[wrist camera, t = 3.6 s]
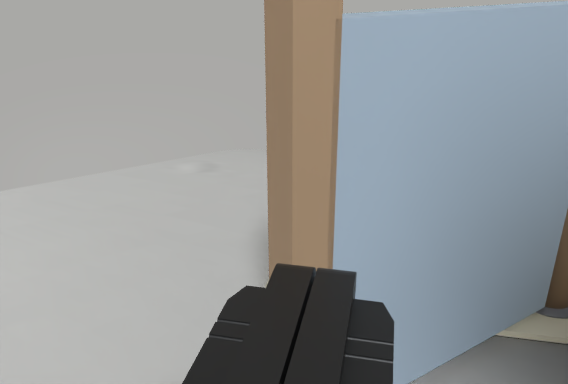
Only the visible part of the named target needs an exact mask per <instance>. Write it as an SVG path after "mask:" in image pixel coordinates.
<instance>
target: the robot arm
mask: <svg viewBox="0 0 568 384" xmlns="http://www.w3.org/2000/svg"><path fill="white" fill-rule="evenodd" d="M356 277H357V272H354V271H345V270H336V269H327V268H317V271H316V268H315V267H308V266H300V265H291V264H282V263H277V264H276V266H275V268H274V270H273V272H272V274H271V277H270V279H269V281H268V284H267V286H266V288H261V287H253V286H246V287H244V288H243V289H241V290H240V291H239V292H237V293H236V294H235V295H233V296H232V297H231V298H229V299H228V300H227V302H226V304H225V306H224V307H223V309H222V311H221V313H220V315H219V317H218V320H217V322H215V324H214V326H213V328H212V330H211V331H210V333H209V338H207V339H206V341H205V343H204V344H203V346H202V348H201V350H200V352H199V354H198V356H197V357H196V359H195V361H194V363H193V365H192V367H191V369H190V370H189V372H188V374H187V376H186V378H185V380H184V381H183V383H182V384H393V360H394V320H393V318H392V317H391V315H390V313H389V312H388V310H387V308H386V307H385V305H384V303H383V302H376V301H368V300H360V299H355V292H356Z"/></svg>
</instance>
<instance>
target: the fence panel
mask: <svg viewBox="0 0 568 384" xmlns="http://www.w3.org/2000/svg"><path fill="white" fill-rule="evenodd" d="M264 10H265V65H266V120H267V121H266V122H267V179H268V236H269V279H270V277H271V274H272V272H273V270H274V268H275V266H276V264H277V263H282V264H291V265H300V266H308V267H315V268H316V271H317V268H327V269H336V270H345V271H354V272H357V277H356V292H355V299H360V300H368V301H376V302H383V303H384V305H385V307H386V308H387V310H388V312H389V313H390V315H391V317H392V318H393V320H394V360H393V384H408V383H410V382H412V381H414V380H415V379H417V378H419V377H421V376H423V375H424V374H426V373H428V372H430V371H431V370H433V369H435V368H437V367H439V366H440V365H442V364H444V363H446V362H447V361H449V360H451V359H453V358H455V357H456V356H458V355H460V354H462V353H464V352H465V351H467V350H469V349H471V348H472V347H474V346H476V345H478V344H480V343H481V342H483V341H485V340H487V339H488V338H490V337H492V336H494V335H496V334H497V333H499V332H501V331H503V330H505V329H506V328H508V327H510V326H512V325H513V324H515V323H517V322H519V321H521V320H522V319H524V318H526V317H528V316H529V315H531V314H533V313H535V312H537V311H538V310H540V309H542V308H544V307H545V304H546V299H547V295H548V291H549V286H550V282H551V278H552V273H553V269H554V265H555V261H556V256H557V252H558V248H559V243H560V239H561V235H562V230H563V226H564V222H565V218H566V213H567V209H568V1H558V2H540V3H522V4H505V5H487V6H470V7H453V8H435V9H417V10H399V11H383V12H364V13H346V14H343V0H264Z"/></svg>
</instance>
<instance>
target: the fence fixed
mask: <svg viewBox="0 0 568 384" xmlns="http://www.w3.org/2000/svg"><path fill="white" fill-rule="evenodd" d="M545 307H548V308H554V309H564V308H568V209H567V213H566V218H565V222H564V226H563V230H562V235H561V239H560V243H559V248H558V252H557V256H556V261H555V265H554V269H553V273H552V278H551V282H550V286H549V291H548V295H547V299H546V304H545Z"/></svg>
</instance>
